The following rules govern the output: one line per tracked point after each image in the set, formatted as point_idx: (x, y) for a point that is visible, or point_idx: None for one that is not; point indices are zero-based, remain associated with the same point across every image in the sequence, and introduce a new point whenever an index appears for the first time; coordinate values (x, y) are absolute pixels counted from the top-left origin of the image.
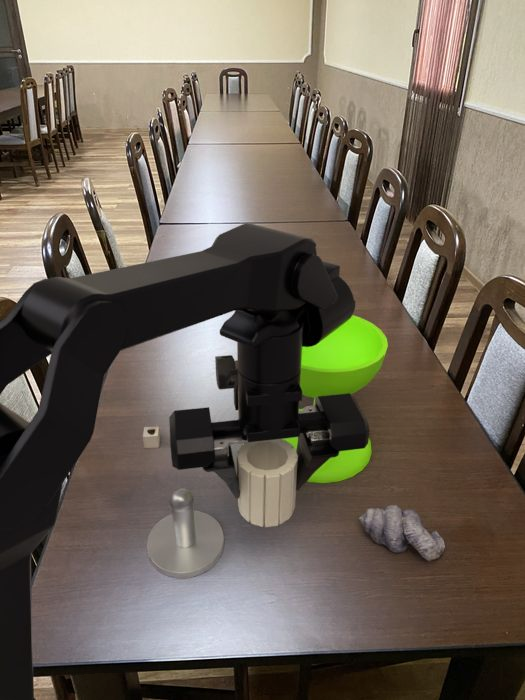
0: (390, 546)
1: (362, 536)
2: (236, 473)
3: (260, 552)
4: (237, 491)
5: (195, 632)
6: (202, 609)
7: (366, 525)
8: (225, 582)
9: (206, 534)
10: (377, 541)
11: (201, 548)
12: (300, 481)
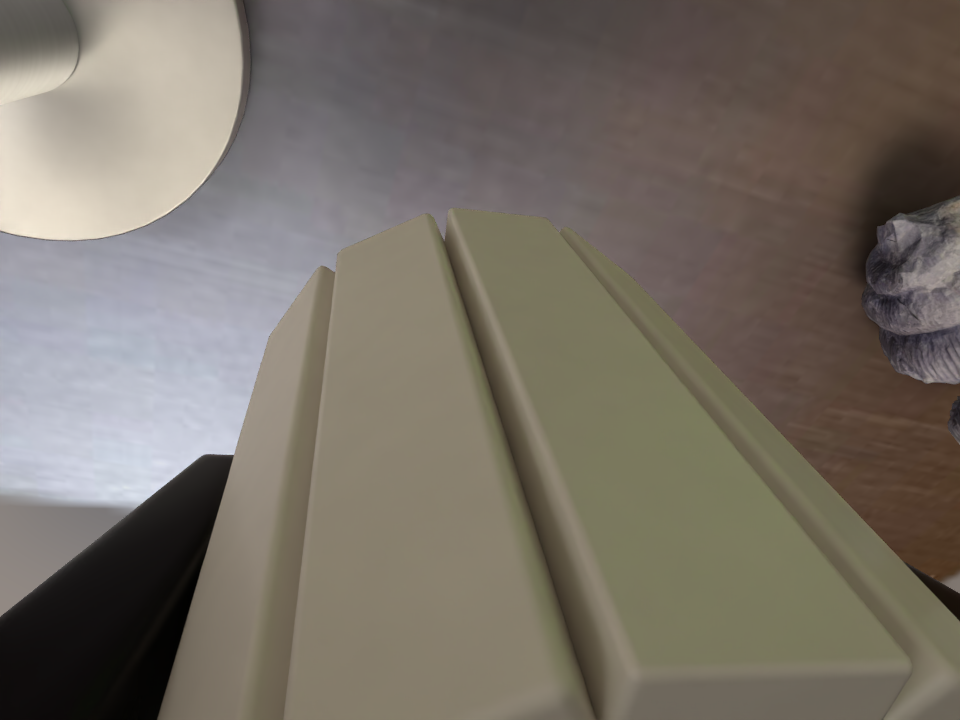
0: (892, 360)
1: (838, 227)
2: (184, 584)
3: (413, 185)
4: None
5: (105, 441)
6: (131, 371)
7: (890, 291)
8: (234, 286)
9: (145, 31)
10: (869, 317)
11: (114, 123)
12: None
